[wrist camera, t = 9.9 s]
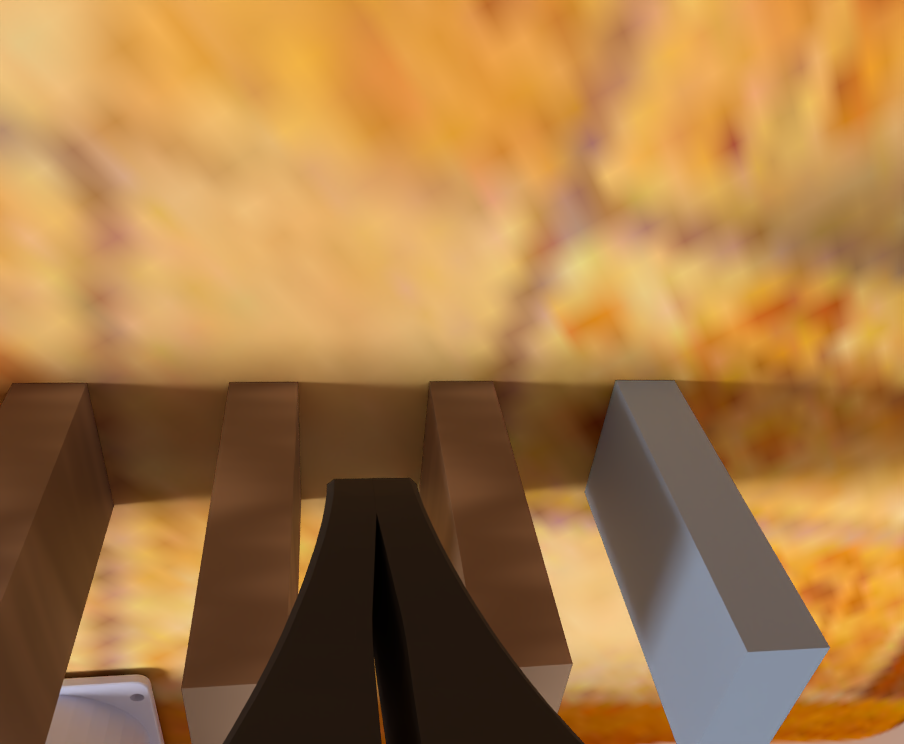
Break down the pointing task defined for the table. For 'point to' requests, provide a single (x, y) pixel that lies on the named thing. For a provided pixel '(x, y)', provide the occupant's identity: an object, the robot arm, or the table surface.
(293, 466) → the domino
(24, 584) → the domino
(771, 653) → the domino
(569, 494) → the table surface
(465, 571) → the domino
